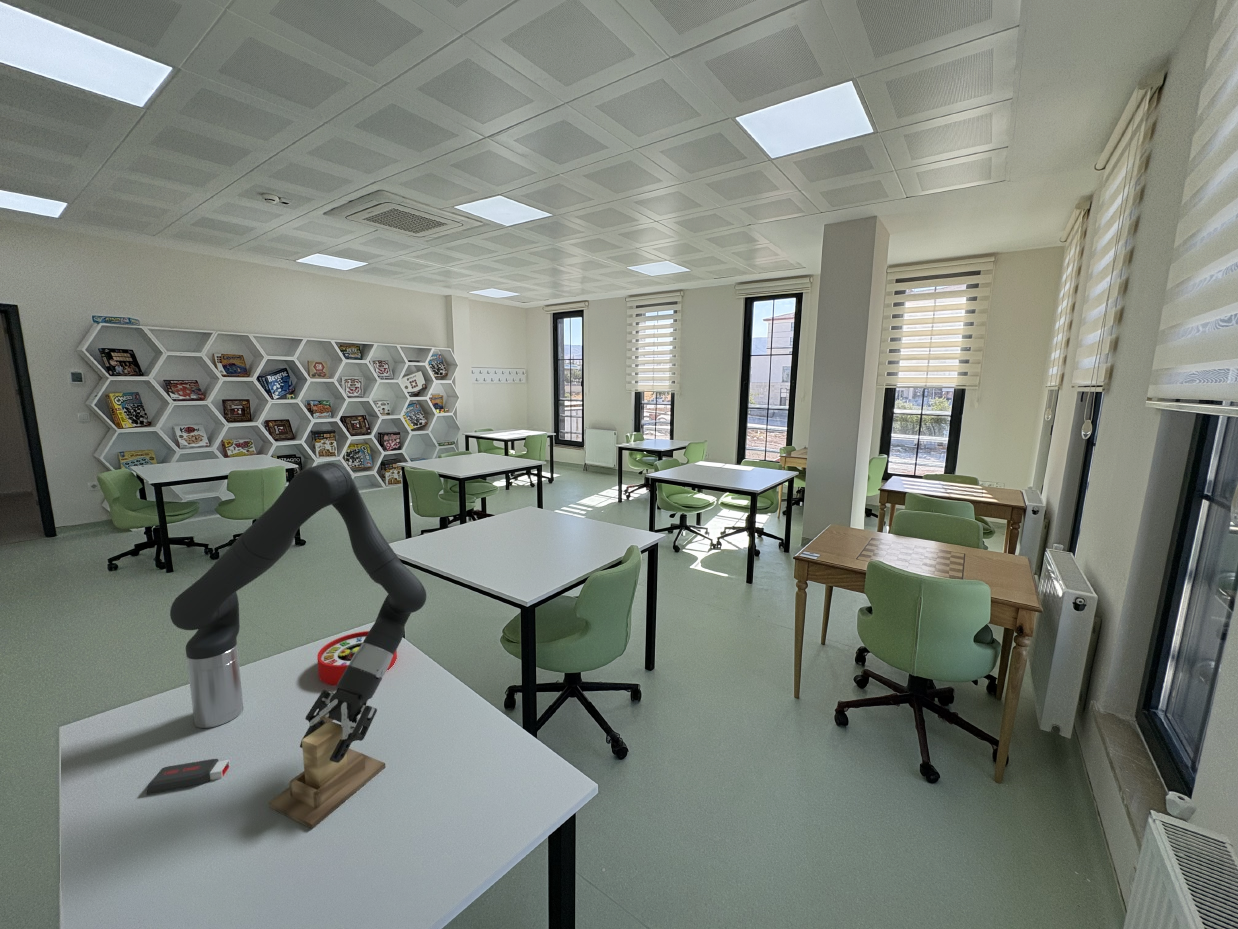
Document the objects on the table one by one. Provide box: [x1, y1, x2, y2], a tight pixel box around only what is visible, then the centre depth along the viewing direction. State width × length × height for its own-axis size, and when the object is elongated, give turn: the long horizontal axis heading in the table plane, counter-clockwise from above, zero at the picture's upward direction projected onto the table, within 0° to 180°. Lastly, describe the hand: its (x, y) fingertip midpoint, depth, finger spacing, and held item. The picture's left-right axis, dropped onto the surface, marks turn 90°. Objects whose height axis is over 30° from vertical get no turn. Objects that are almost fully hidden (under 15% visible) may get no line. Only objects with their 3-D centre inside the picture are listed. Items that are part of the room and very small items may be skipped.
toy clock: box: [316, 630, 398, 687], centre depth 139 cm, size 20×6×20 cm
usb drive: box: [145, 758, 231, 795], centre depth 98 cm, size 5×12×3 cm, turn 106°
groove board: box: [268, 747, 386, 830], centre depth 97 cm, size 12×16×4 cm
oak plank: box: [301, 721, 348, 790], centre depth 96 cm, size 4×6×11 cm, turn 159°
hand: (318, 755), depth 94 cm, fingers open, 8 cm apart
